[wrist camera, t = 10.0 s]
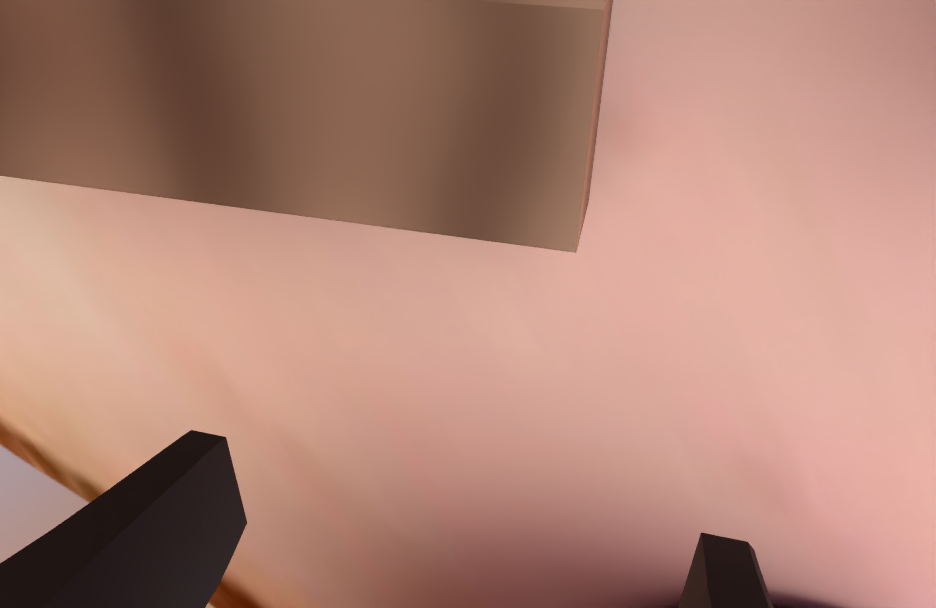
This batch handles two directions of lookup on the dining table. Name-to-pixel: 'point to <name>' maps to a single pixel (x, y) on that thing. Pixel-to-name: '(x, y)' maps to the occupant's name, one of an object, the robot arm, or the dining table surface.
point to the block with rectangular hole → (316, 107)
